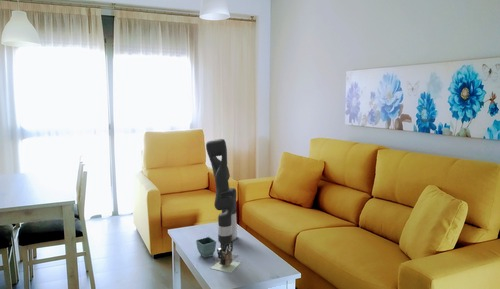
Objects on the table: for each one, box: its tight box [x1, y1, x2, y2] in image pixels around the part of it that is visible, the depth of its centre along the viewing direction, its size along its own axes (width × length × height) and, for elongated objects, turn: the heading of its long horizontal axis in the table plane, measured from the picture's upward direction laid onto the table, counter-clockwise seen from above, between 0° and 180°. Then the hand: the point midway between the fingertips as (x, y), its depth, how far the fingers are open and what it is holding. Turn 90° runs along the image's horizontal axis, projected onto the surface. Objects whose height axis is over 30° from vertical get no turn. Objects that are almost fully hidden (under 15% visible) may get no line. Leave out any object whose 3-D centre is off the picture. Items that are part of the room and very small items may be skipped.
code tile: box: [213, 253, 238, 262], centre depth 216 cm, size 10×10×1 cm
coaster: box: [210, 260, 242, 274], centre depth 205 cm, size 12×12×1 cm
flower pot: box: [195, 236, 217, 259], centre depth 218 cm, size 9×9×9 cm
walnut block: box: [218, 251, 233, 266], centre depth 205 cm, size 5×5×6 cm
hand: (225, 262), depth 205 cm, fingers closed on walnut block, 5 cm apart
